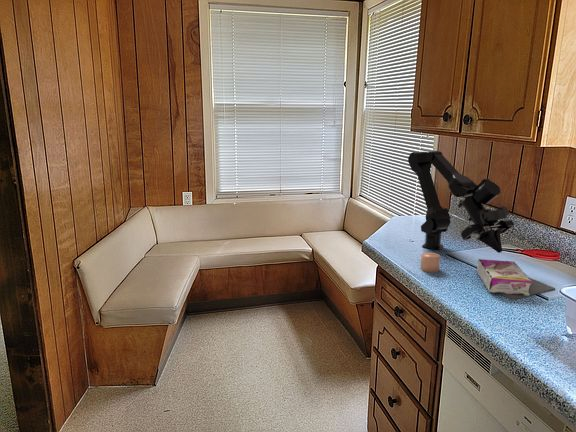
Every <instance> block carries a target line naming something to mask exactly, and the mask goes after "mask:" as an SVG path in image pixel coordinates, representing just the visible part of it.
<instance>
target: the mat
mask: <svg viewBox="0 0 576 432" xmlns="http://www.w3.org/2000/svg"><path fill="white" fill-rule="evenodd" d="M528 278H529V279H530V280H531V281H532V283H531V288H530V294H529V296H526V295H515V294H504V293H497V294H498V295H500V296H503V297H505V298H507V299H510V300H512V301H515V300H519V299H524V298H527V297H531V296H535V295H539V294H543V293H546V291H547V292H550V291H555V290H556V287H553V286H551V285H548V284H546V283H543V282H541V281H538V280H536V279H534V278H531V277H529V276H528ZM483 287H484V288H486V286H485V285H484V286H483ZM542 292H543V293H542Z"/></svg>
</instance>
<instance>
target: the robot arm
mask: <svg viewBox="0 0 576 432" xmlns="http://www.w3.org/2000/svg"><path fill="white" fill-rule="evenodd" d="M407 162H408V165H409V167H410V169H411V170H412V171H413V173H415V175H417V179H418V182H419V185H420V189H421V193H422V196H423V199H424V203H425V205H426V208H427V209H426V213H425V222H423V223H422V224H421V225H420V232H422V233H424V234H425V238H424V239H425V242H424V243H423V244H422V246H421V247H422V248H426V249H432V250H437V251H439V250H440V249H441V248H443V246H444V244H443V243H441V241H442V233H446V232H447V231H448V228H449V227H450V225H451V219H452V217H451V216H450V212H449V209H448V208H447V207H445V208H444V207H443V206H442V205H441V203H440V199H439V195H438V194H437V190H436V187H435V184H434V180H433V177H432V174H431V168H432V166H433V167H434V168H435V169H436V170H437V171H438V172H439V174H440V176H442V177H443V179H445V180H446V183H448V189H449V190H450V192H451V193H452V196H453V197H455V198H464V199H460V200H459V203H458V206H457V207H458V208H459V209H461V208H464V210H465V211H466V213H467V214H468V217H469V218H468V219H467V220H468V221H469V222H471V223H472V224H469V225H468V226H467V227H466V228H464V229H463V230H461V232H460V237H461V239H463V241H466V240H467V241H468V240H471V238H472V236H473V235H478V237H477V238H476V240H477V241H480V242H482V243H483V244H485V245H487V246H488V247H489V248H491V249H493V251H496V252H497V253H498V254H499V253H503V247H502V241H501V235H502V234H503V235H504V234H505V233H506V232H507V231H509V230H511V229H512V228H513V227H515V225H516V224H515V223H514V221H513V220H512V219H508V216H509V215H510V210H509V209H508V208H507V207H506V206H505V205H504V206H499V207H498V208H497V209H495V210H491V209H489V208H486V207H485V205H488V204H489V203H491V201H493V200H494V199H495V198H497V197H498V196H499V195H500V194H501V187H500V186H499V185H498V184H496V183H495V182H494V181H491V179H490V178H483V179H482V180H481V181H480V183H479V184H476V182H474V180H472V179H471V178H469V177H468V176H466V175H464V174H462V173H460V172H459V171H458V169H456V168H455V167H454V166H453V164H451V162H450V161H448V159H447V158H446V157H445V156H444V155H443V153H442V151H440V150H431V151H412V152H411V153H410V154H409V156H408V158H407ZM499 220H500V221H499Z"/></svg>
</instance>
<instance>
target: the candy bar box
mask: <svg viewBox="0 0 576 432" xmlns="http://www.w3.org/2000/svg"><path fill="white" fill-rule="evenodd" d="M476 273H477V275H478V276H479V278H480V280H481V281H482V283H483V284H484V286H486V287H485V288H486V289H487V291H488V292H489V293H496V294H498V293H504V294H515V295H526V296H527V297H530V296H529V294H530V288H531V283H532V281H531V280H530V279H529V278H530V277H529V276H528V275H527V274H526V273H525V271H523V270H522V268H521V267H520V266H518V264H517V263H516V262H515V261H512V260H511V261H509V260H496V259H495V260H494V259H483V258H482V259H481V258H479V259H478V261H477V269H476ZM528 277H529V278H528Z"/></svg>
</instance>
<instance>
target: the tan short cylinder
mask: <svg viewBox="0 0 576 432" xmlns="http://www.w3.org/2000/svg"><path fill="white" fill-rule="evenodd" d="M440 260H441V254H438V253H435V252H429V251H428V252H426V251H425V252H422V253H421V256H420V270H421V271H423V272H426V273H437V272H439V270H440V263H441V261H440Z"/></svg>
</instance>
